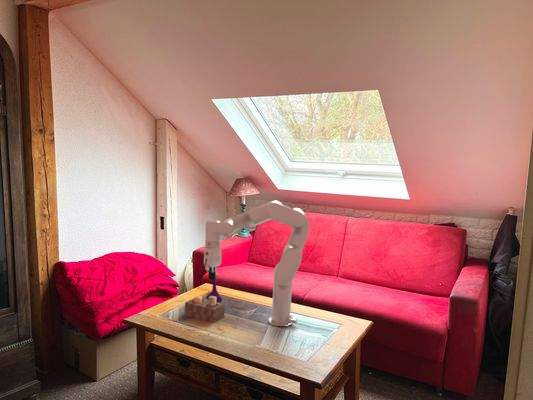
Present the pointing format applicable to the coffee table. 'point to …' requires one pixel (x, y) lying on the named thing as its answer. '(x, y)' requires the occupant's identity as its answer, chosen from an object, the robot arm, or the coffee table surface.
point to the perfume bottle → (214, 290)
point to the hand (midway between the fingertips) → (211, 279)
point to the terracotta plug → (198, 299)
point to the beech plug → (212, 301)
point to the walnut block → (204, 310)
